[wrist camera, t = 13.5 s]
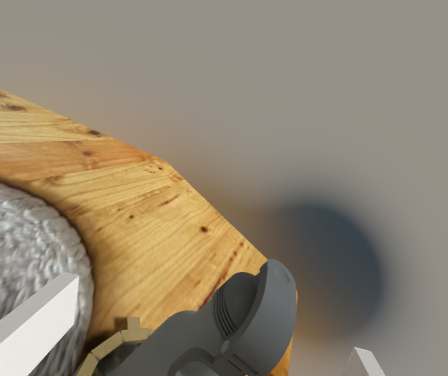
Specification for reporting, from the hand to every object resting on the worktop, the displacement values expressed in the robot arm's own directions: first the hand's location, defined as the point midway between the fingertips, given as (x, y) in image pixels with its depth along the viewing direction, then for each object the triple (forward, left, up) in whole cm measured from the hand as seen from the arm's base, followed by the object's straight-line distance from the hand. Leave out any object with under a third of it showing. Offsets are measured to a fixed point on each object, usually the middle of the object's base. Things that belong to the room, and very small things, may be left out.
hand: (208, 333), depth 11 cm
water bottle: (-4, +11, -30) cm, 32 cm away
